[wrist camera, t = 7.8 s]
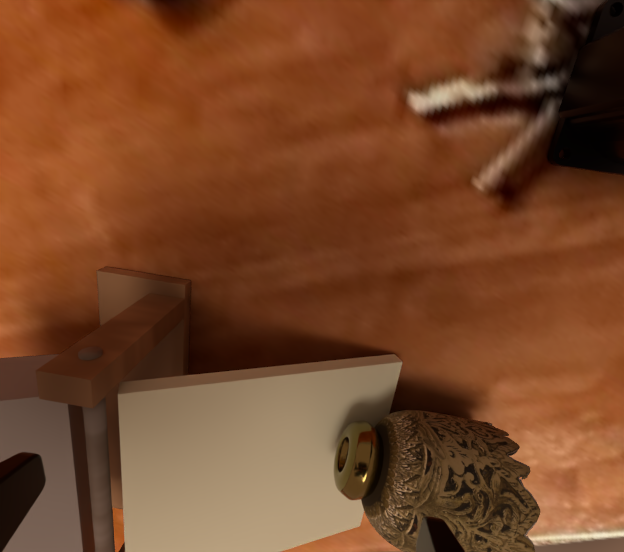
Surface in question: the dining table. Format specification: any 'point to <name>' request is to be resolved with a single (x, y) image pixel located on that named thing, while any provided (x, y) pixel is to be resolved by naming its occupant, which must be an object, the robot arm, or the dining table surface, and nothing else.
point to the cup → (437, 480)
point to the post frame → (119, 372)
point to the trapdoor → (200, 455)
